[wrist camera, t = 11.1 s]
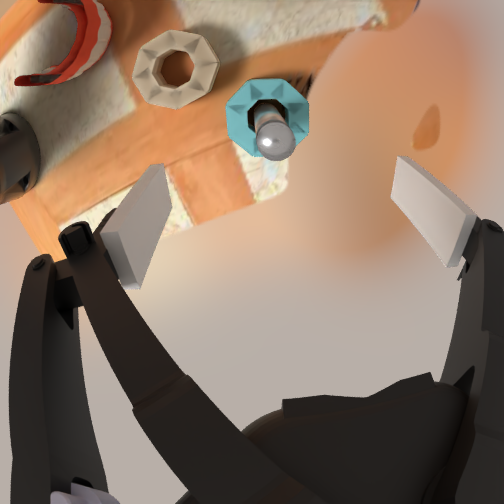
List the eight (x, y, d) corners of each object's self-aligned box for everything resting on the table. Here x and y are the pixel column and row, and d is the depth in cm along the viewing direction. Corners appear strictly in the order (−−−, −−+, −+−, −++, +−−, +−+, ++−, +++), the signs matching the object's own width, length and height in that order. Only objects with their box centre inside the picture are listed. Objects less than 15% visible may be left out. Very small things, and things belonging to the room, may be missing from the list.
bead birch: (166, 116, 31) (158, 121, 28) (132, 60, 26) (121, 60, 23) (231, 81, 29) (229, 82, 26) (196, 21, 24) (191, 17, 21)
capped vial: (253, 126, 33) (257, 162, 22) (252, 103, 31) (255, 124, 20) (278, 125, 33) (296, 160, 21) (278, 102, 31) (296, 123, 20)
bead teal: (231, 150, 34) (230, 158, 32) (225, 80, 29) (223, 82, 26) (303, 147, 34) (308, 155, 31) (302, 78, 29) (308, 79, 26)
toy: (104, 86, 28) (73, 95, 22) (49, 77, 25) (13, 87, 19) (135, 0, 21) (108, -12, 15) (73, -2, 18) (39, -8, 12)
